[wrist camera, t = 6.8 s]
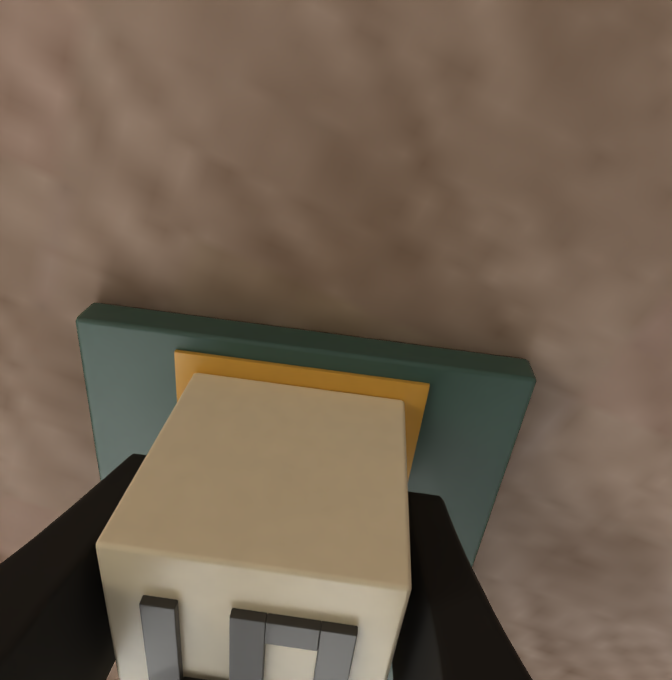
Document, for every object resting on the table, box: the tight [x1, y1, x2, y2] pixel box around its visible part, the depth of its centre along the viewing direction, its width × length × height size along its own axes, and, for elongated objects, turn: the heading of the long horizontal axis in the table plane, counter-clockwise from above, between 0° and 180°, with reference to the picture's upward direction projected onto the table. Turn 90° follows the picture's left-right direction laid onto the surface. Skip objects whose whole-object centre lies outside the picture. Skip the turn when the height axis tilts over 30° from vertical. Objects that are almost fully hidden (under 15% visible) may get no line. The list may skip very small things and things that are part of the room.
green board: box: [76, 303, 536, 680], centre depth 13 cm, size 11×9×1 cm
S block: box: [96, 373, 412, 680], centre depth 10 cm, size 4×4×4 cm
